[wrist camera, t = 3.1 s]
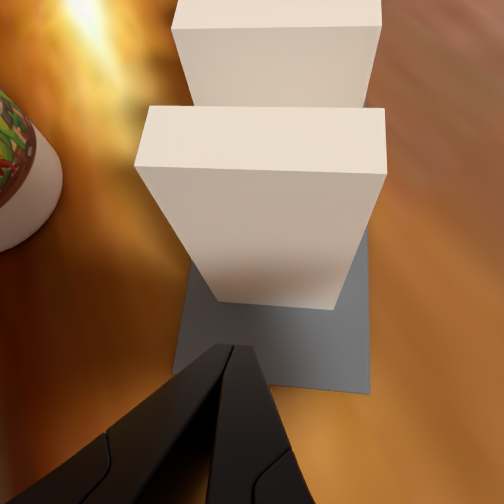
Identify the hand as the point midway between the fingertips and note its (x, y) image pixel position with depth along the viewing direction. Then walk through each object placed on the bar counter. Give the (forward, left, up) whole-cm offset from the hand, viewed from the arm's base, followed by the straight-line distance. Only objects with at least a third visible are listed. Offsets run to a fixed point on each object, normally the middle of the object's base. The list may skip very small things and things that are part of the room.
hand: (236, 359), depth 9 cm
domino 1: (+4, +2, -7) cm, 8 cm away
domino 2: (+7, +4, -7) cm, 11 cm away
